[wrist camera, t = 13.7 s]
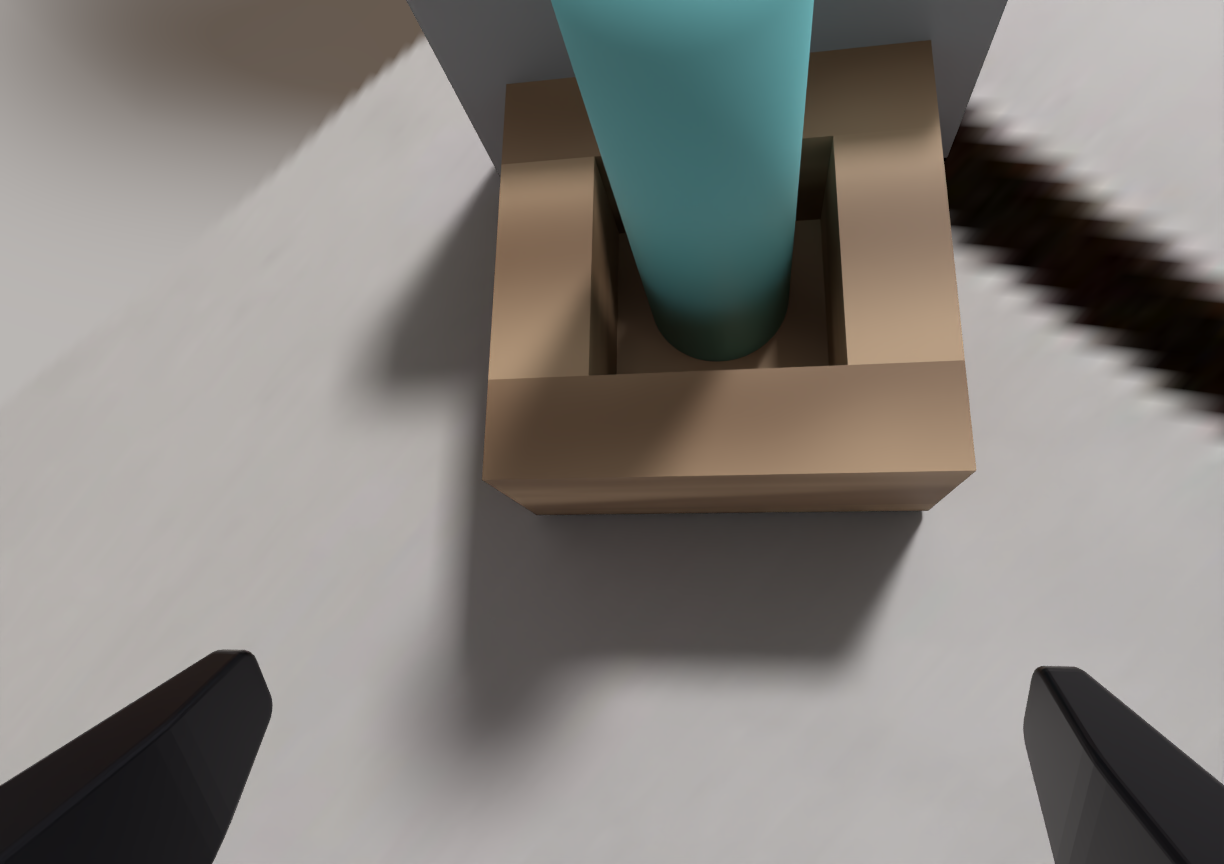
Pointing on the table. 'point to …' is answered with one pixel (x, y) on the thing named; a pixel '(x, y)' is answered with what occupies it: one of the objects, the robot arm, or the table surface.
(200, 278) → the table surface
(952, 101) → the backstop wall
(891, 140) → the hole block
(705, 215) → the dowel
